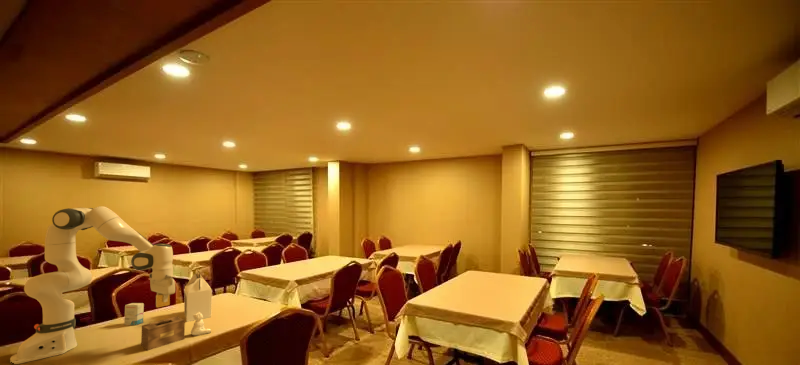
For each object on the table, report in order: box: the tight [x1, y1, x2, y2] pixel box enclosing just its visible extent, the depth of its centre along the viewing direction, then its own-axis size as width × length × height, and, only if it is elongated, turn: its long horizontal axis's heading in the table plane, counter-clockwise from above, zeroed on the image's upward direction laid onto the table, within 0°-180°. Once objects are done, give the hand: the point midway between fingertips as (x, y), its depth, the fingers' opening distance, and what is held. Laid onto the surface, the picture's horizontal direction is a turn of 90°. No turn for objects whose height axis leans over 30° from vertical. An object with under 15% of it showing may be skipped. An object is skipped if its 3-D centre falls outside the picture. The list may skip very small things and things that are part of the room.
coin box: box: [140, 315, 186, 351], centre depth 171 cm, size 16×10×10 cm, turn 144°
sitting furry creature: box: [190, 312, 212, 337], centre depth 182 cm, size 10×9×12 cm
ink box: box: [123, 302, 145, 326], centre depth 199 cm, size 9×5×12 cm, turn 84°
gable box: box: [183, 269, 213, 323], centre depth 214 cm, size 22×13×28 cm, turn 37°
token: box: [155, 294, 171, 308], centre depth 172 cm, size 6×3×6 cm, turn 133°
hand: (162, 301), depth 172 cm, fingers closed on token, 3 cm apart
